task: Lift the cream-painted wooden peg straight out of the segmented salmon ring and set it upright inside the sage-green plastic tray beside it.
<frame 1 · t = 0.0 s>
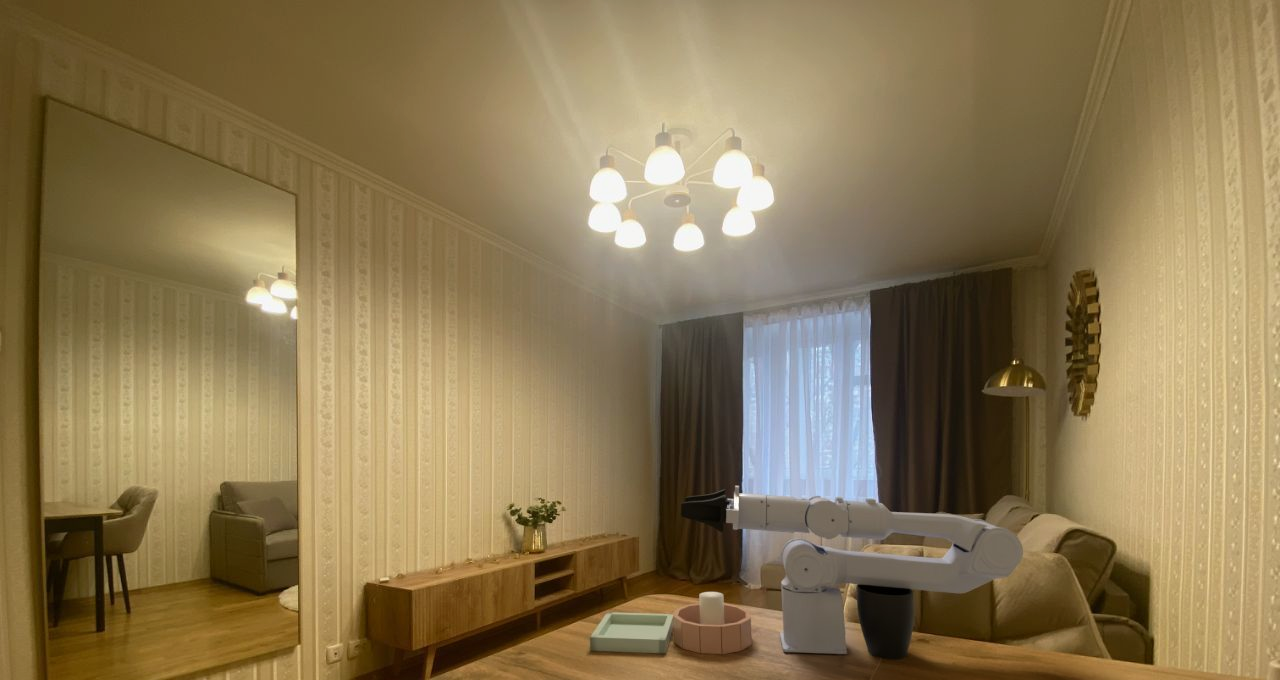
hand: (683, 506, 102), 21 cm above the table, tool horizontal, fingers open, 7 cm apart
mug: (884, 650, 94), on the table, touching arm
tray: (634, 637, 101), on the table
segmented salmon ring: (712, 639, 100), on the table
peg: (712, 617, 100), in the segmented salmon ring
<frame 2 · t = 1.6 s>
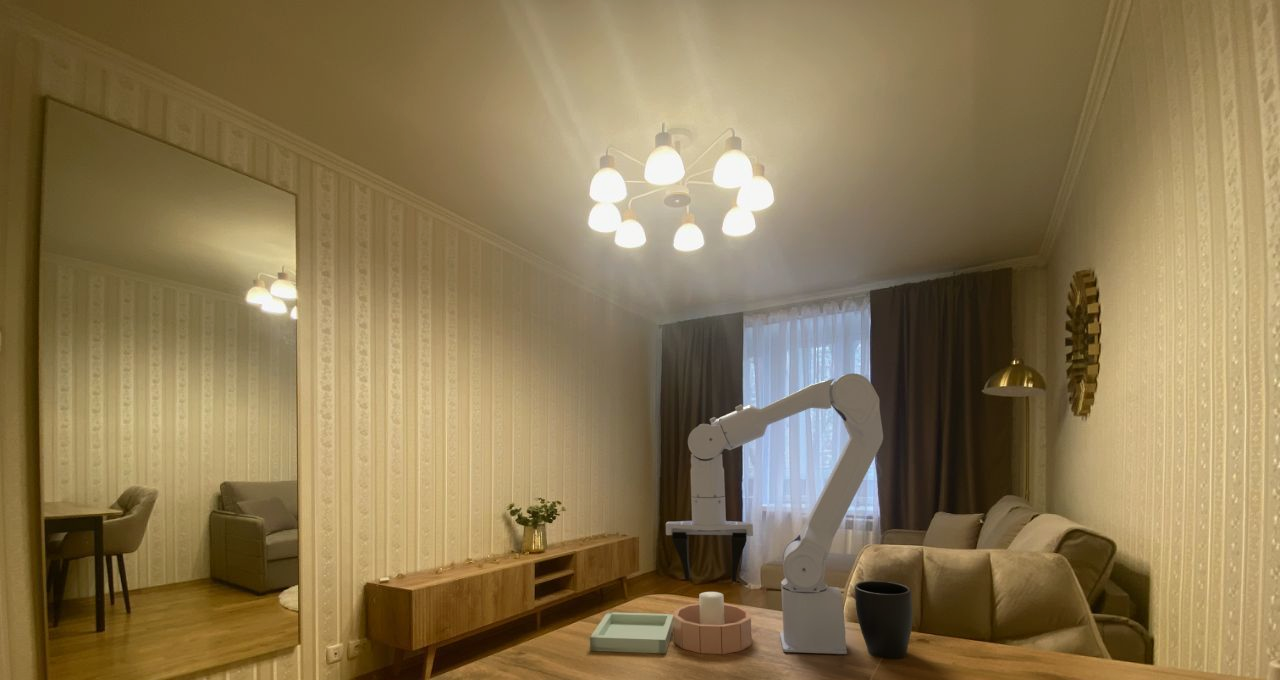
hand: (710, 579, 101), 9 cm above the table, tool pointing down, fingers open, 7 cm apart
mug: (884, 649, 94), on the table
everything else where it was.
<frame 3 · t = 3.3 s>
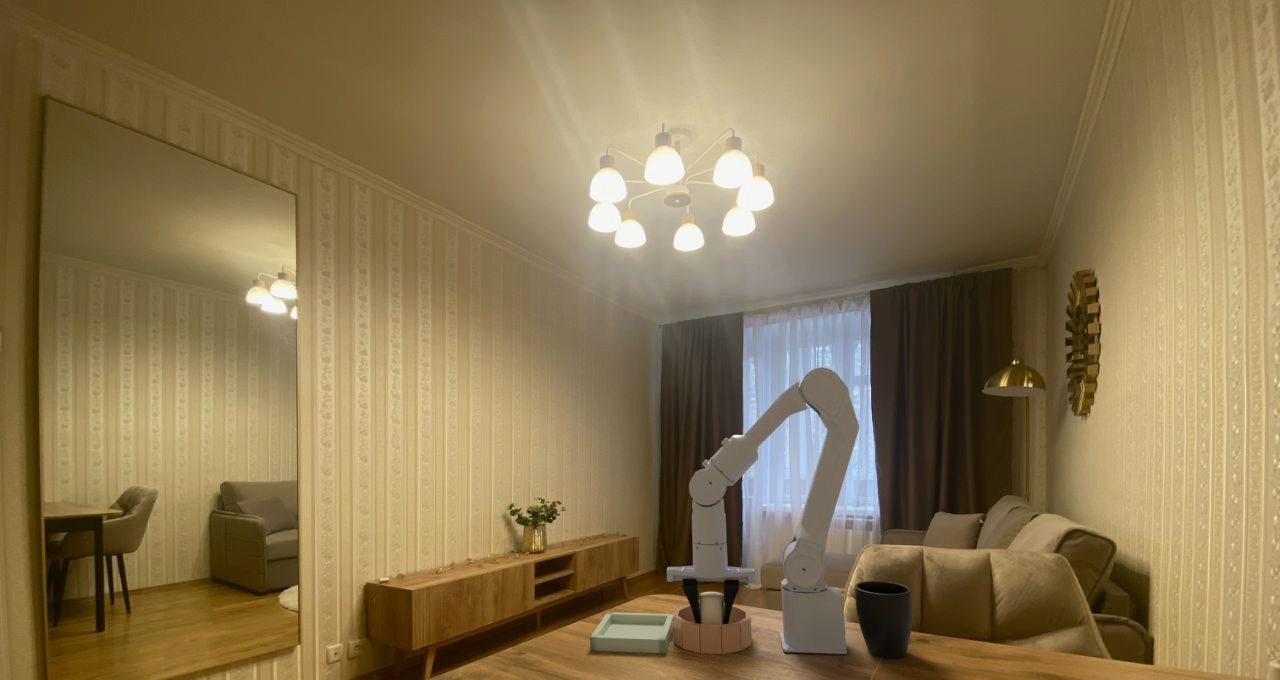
hand: (712, 627, 100), 2 cm above the table, tool pointing down, fingers closed on peg, 4 cm apart
peg: (712, 617, 100), in the segmented salmon ring, touching gripper
everything else where it was.
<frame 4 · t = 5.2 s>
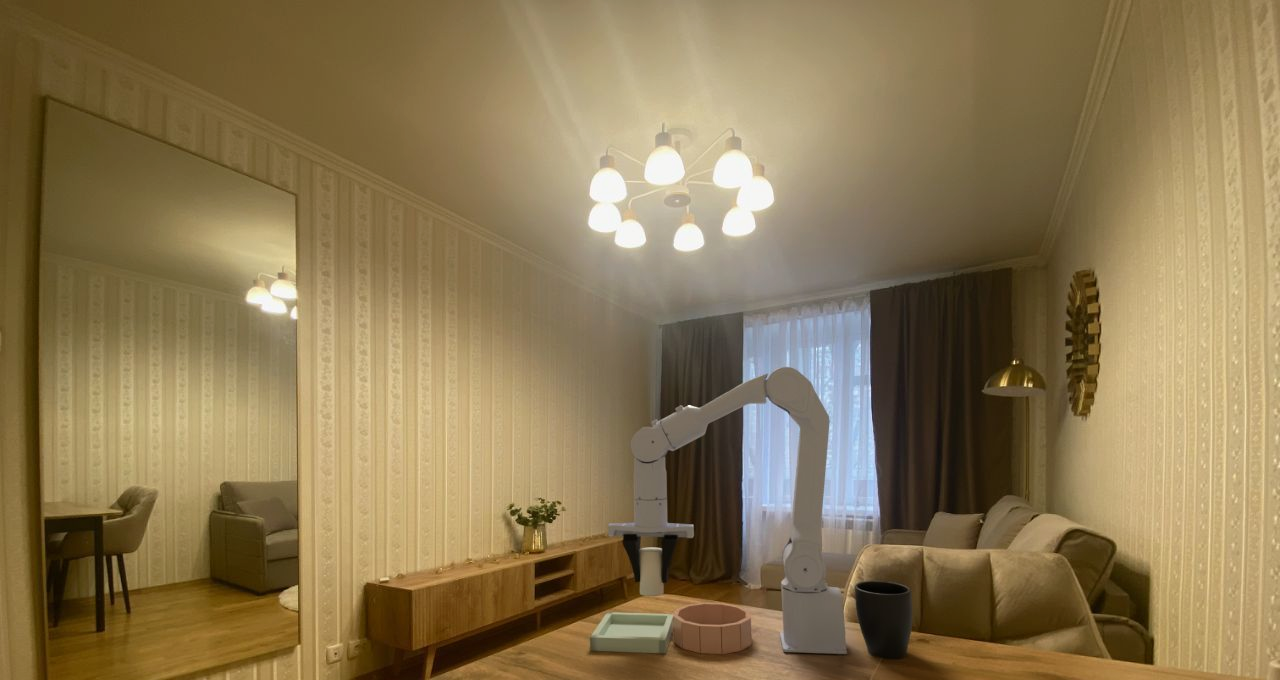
hand: (651, 581, 102), 9 cm above the table, tool pointing down, fingers closed on peg, 4 cm apart
peg: (651, 571, 102), point 11 cm above the table, touching gripper
everything else where it was.
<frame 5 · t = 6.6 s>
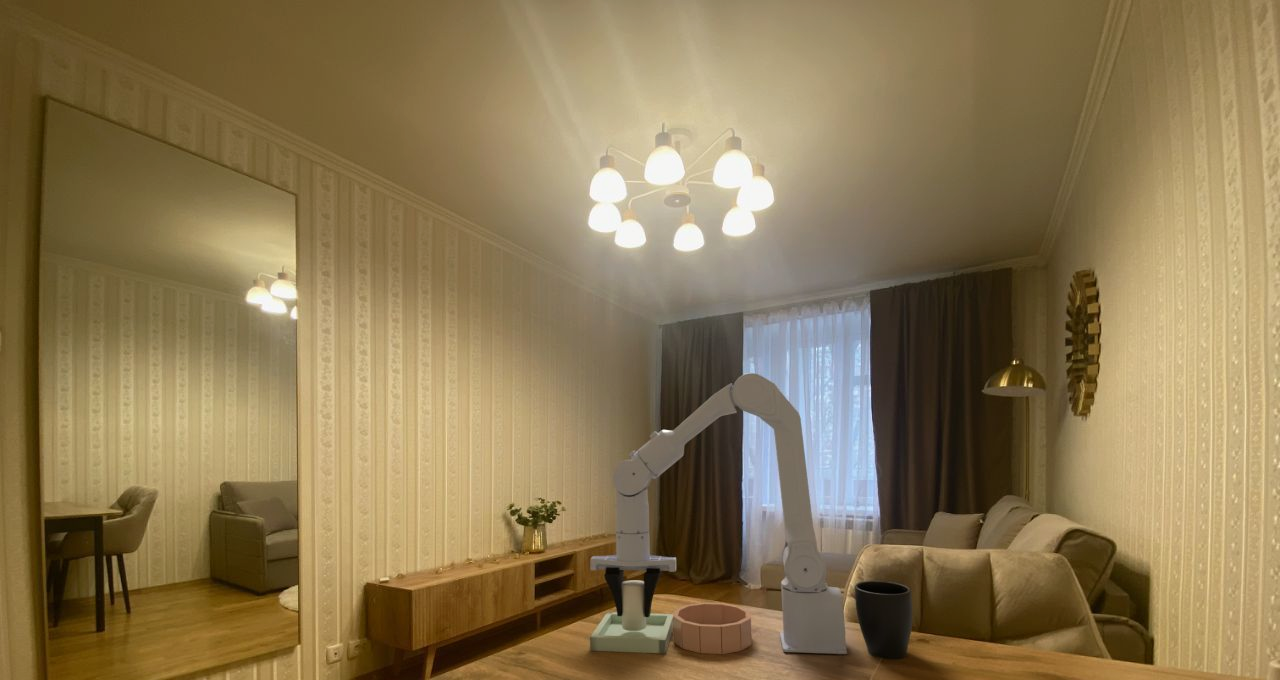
hand: (634, 615, 102), 4 cm above the table, tool pointing down, fingers closed on peg, 4 cm apart
peg: (633, 604, 102), point 5 cm above the table, touching gripper
everything else where it was.
when the fingers open (4 cm above the table, at t = 7.3 s): peg drops 1 cm, resting on tray.
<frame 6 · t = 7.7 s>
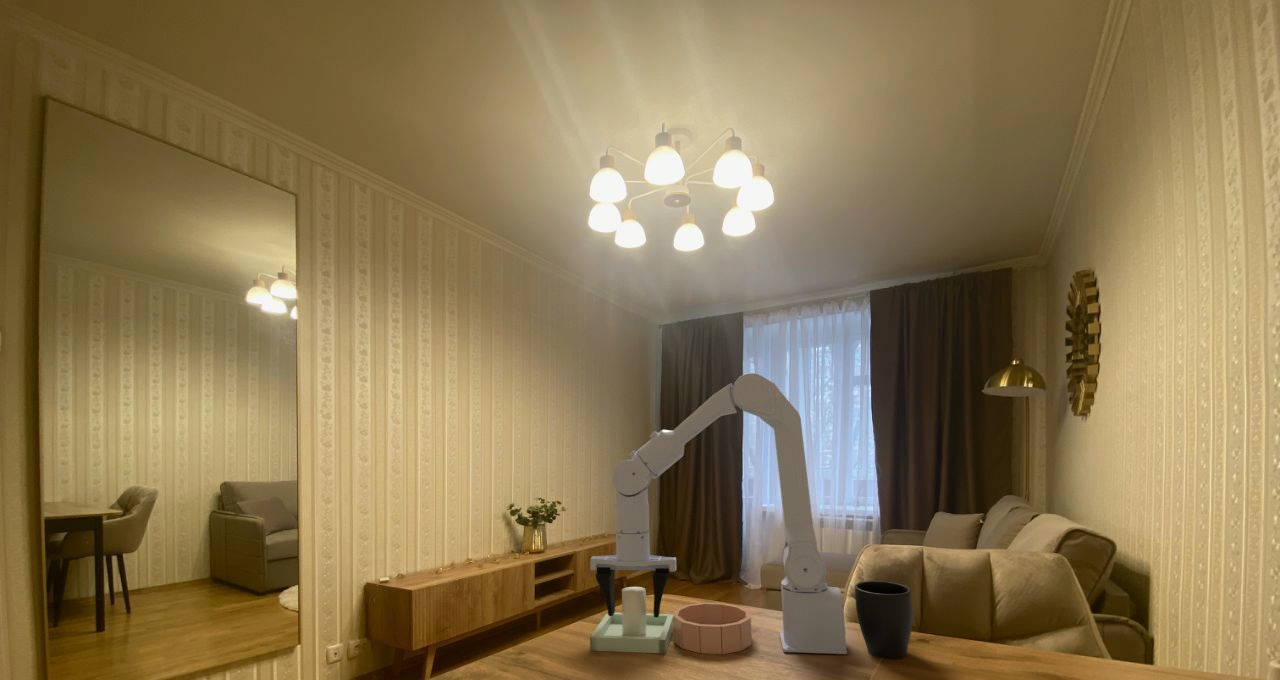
hand: (634, 614, 102), 4 cm above the table, tool pointing down, fingers open, 7 cm apart
peg: (634, 611, 102), in the tray, point 4 cm above the table
everything else where it was.
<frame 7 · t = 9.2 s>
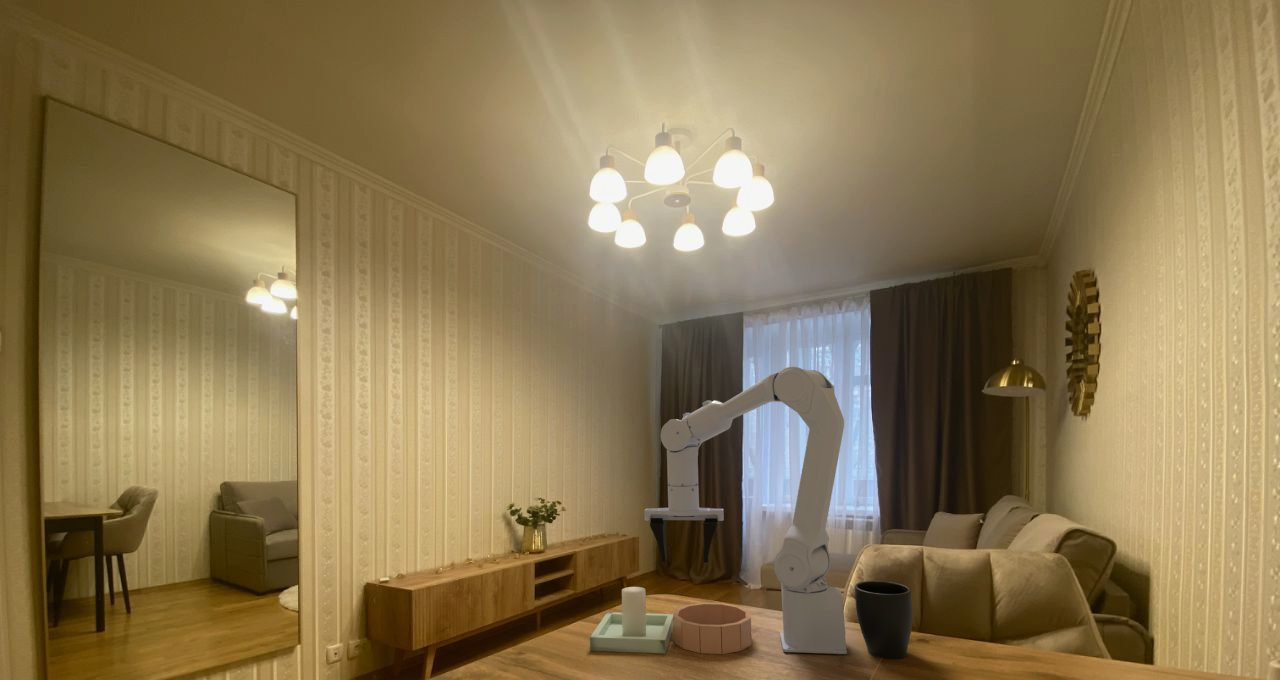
hand: (685, 561, 111), 10 cm above the table, tool pointing down, fingers open, 7 cm apart
nothing on the table moved.
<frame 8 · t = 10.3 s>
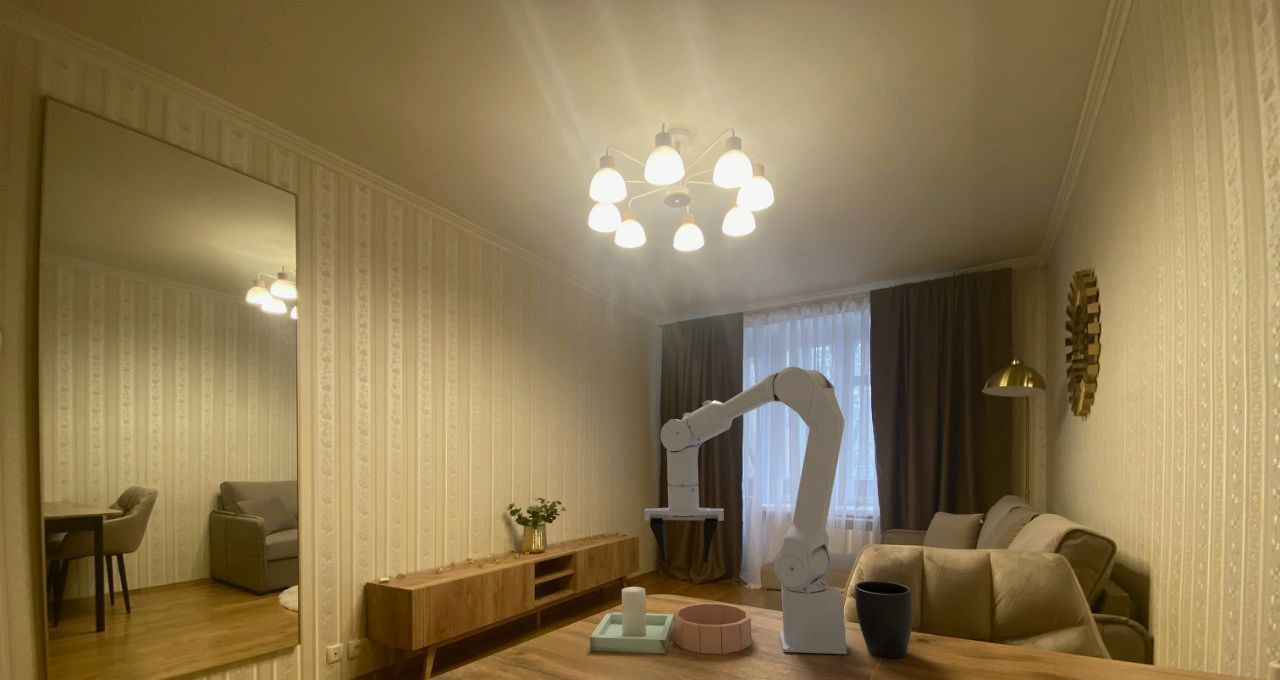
hand: (685, 561, 111), 10 cm above the table, tool pointing down, fingers open, 7 cm apart
nothing on the table moved.
at the end: peg 0.0 cm off-centre on the tray, point 4.1 cm above the tray's base; peg tilted 0°; the gripper is holding nothing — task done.
